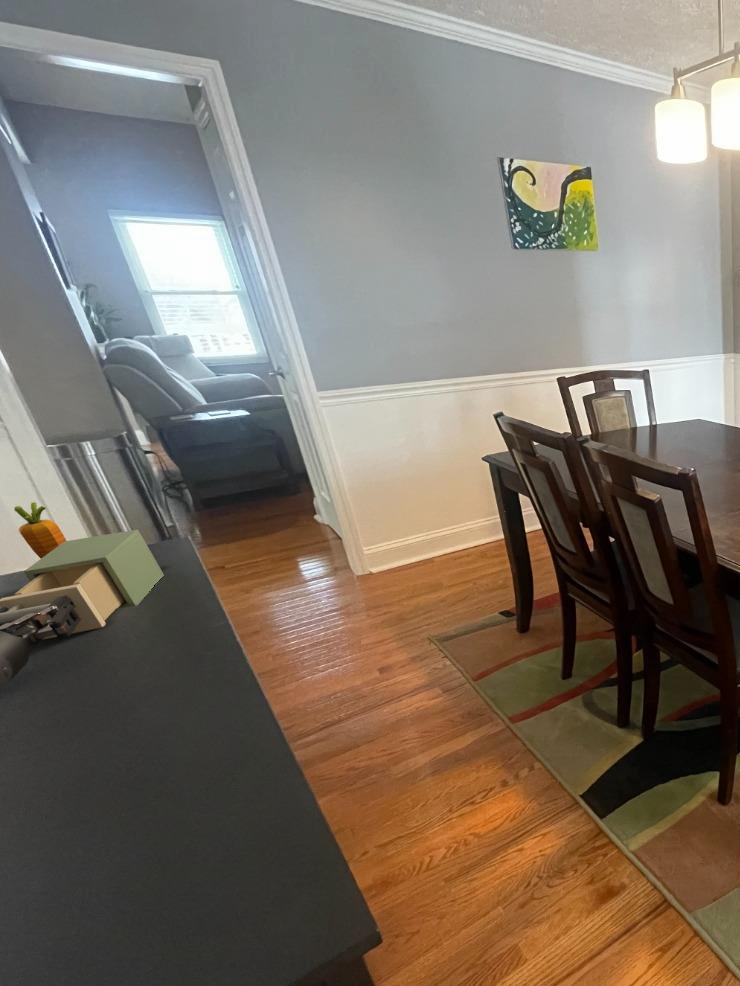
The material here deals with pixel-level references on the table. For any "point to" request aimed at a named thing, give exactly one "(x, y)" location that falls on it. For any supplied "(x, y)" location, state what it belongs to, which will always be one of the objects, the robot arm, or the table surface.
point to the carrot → (39, 531)
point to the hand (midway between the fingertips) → (37, 607)
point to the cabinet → (108, 562)
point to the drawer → (80, 584)
